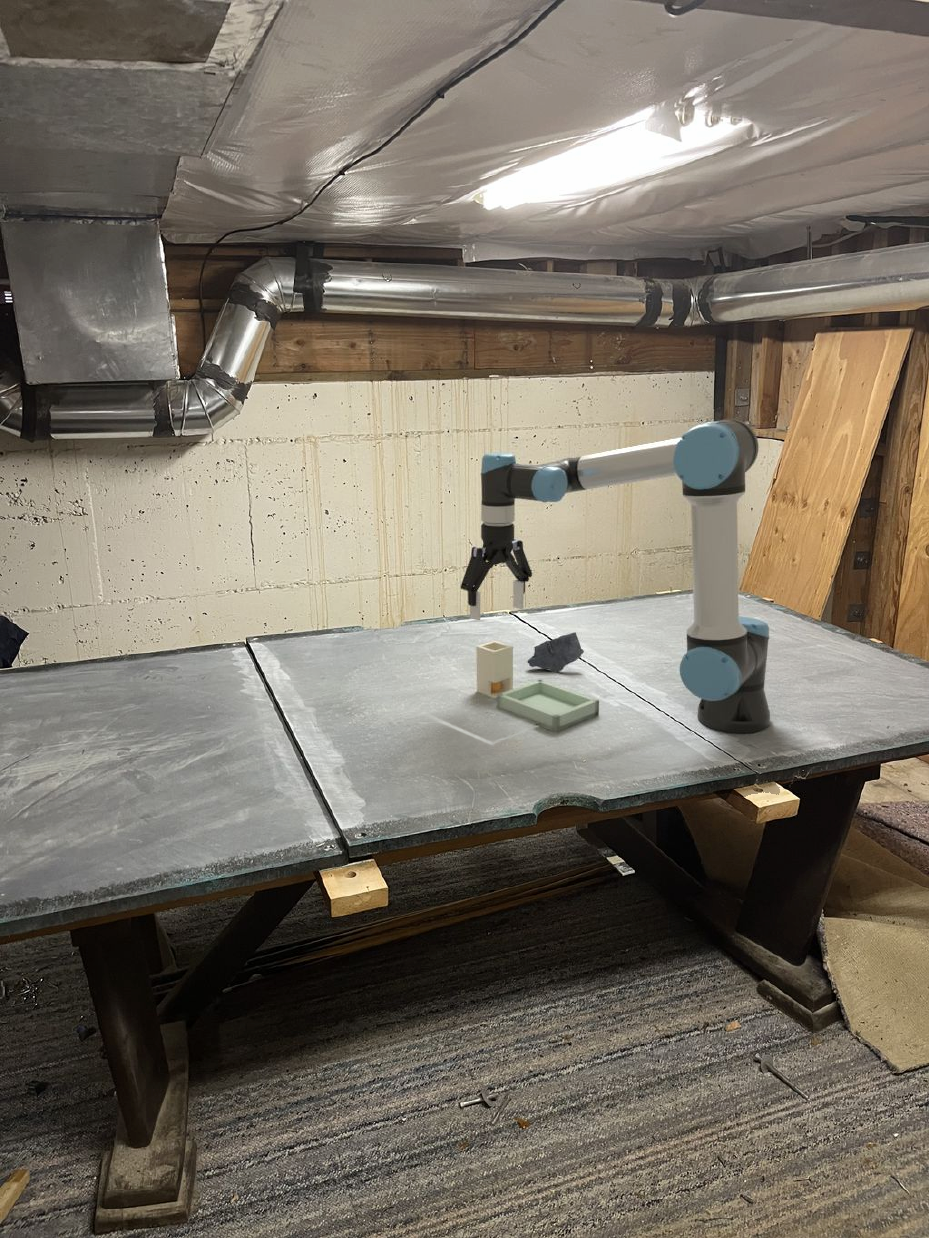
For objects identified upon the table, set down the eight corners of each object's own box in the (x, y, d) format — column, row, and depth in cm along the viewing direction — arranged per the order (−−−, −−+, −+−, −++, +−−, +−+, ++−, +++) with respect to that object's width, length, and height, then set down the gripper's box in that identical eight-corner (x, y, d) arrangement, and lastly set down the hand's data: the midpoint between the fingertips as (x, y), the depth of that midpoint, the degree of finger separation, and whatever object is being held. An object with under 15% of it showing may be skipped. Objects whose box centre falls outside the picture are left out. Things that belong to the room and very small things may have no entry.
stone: (535, 679, 222) (536, 640, 219) (524, 671, 227) (525, 633, 224) (584, 671, 227) (585, 633, 224) (573, 663, 232) (573, 627, 229)
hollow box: (512, 694, 212) (512, 646, 209) (494, 701, 208) (494, 652, 205) (495, 688, 216) (495, 640, 213) (477, 694, 212) (476, 646, 209)
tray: (598, 714, 199) (599, 700, 198) (556, 732, 191) (556, 717, 190) (539, 693, 212) (539, 679, 211) (497, 709, 203) (497, 694, 202)
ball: (503, 691, 212) (503, 679, 211) (494, 694, 210) (494, 682, 209) (495, 688, 214) (494, 676, 213) (485, 691, 212) (485, 679, 211)
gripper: (525, 513, 212) (524, 600, 218) (444, 527, 197) (445, 620, 203) (548, 518, 207) (546, 606, 213) (466, 532, 191) (467, 627, 197)
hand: (497, 613), depth 208 cm, fingers open, 13 cm apart
